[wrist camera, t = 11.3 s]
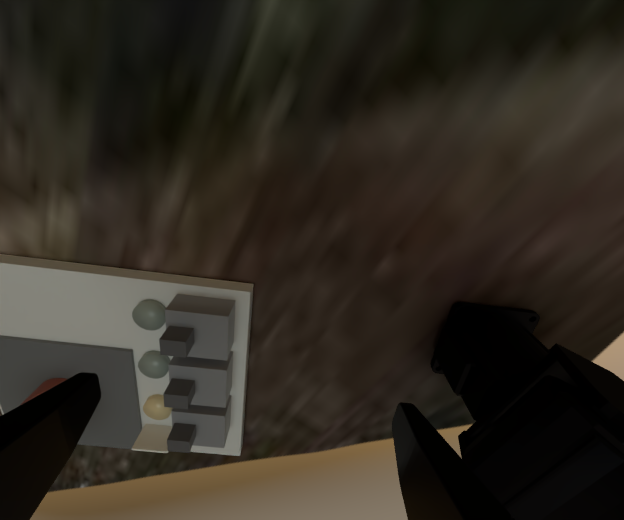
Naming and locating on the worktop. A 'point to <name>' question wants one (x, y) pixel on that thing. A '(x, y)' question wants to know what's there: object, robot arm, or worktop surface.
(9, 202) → the worktop surface
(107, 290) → the breaker board
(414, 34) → the worktop surface
